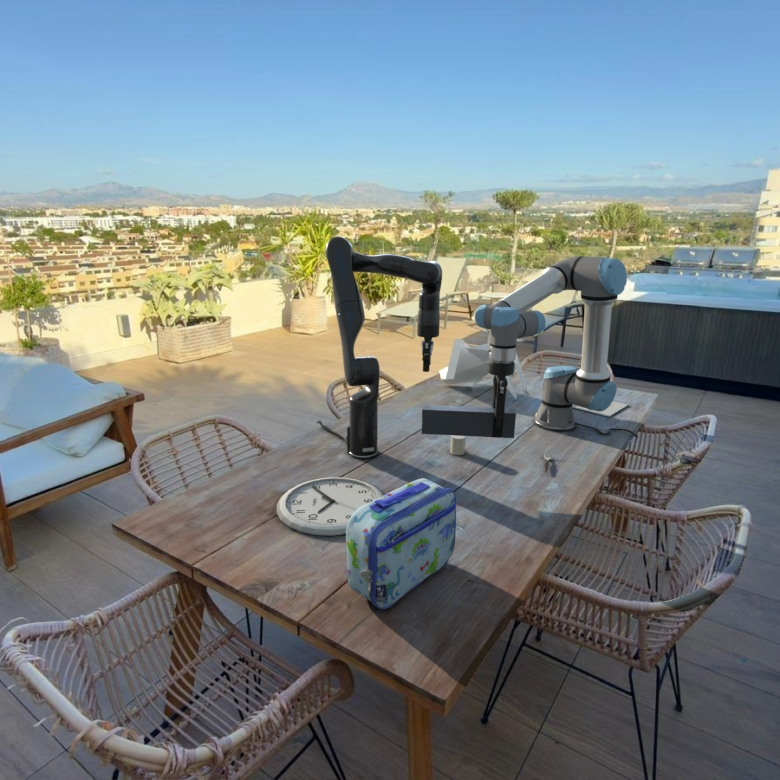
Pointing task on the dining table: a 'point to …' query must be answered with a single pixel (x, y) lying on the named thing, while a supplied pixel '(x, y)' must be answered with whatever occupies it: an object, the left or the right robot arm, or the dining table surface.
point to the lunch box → (400, 540)
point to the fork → (547, 459)
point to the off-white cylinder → (457, 445)
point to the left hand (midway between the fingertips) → (426, 368)
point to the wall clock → (324, 504)
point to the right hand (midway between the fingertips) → (496, 433)
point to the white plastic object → (474, 366)
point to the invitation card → (609, 411)
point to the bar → (465, 421)
